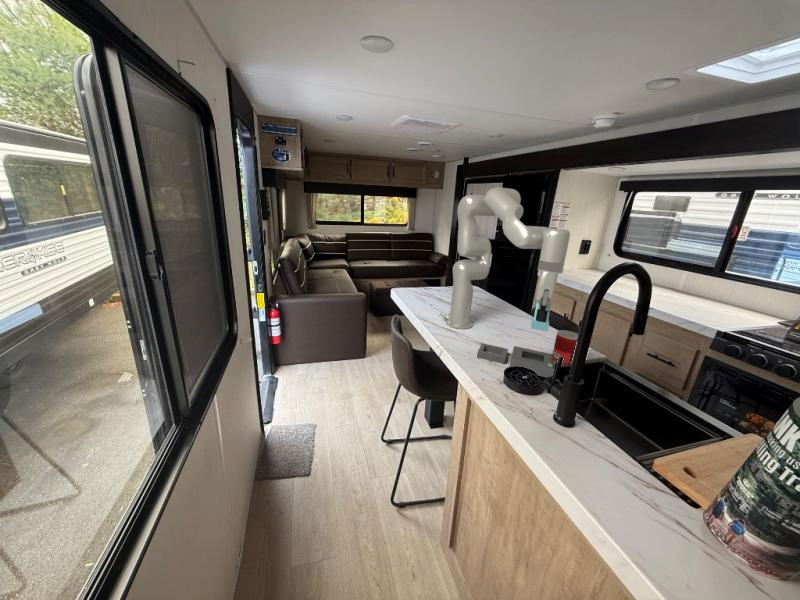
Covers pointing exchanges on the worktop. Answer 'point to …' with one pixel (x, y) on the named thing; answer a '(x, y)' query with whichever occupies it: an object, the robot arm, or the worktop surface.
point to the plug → (539, 324)
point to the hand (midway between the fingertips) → (540, 318)
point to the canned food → (565, 345)
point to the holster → (492, 353)
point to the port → (533, 361)
